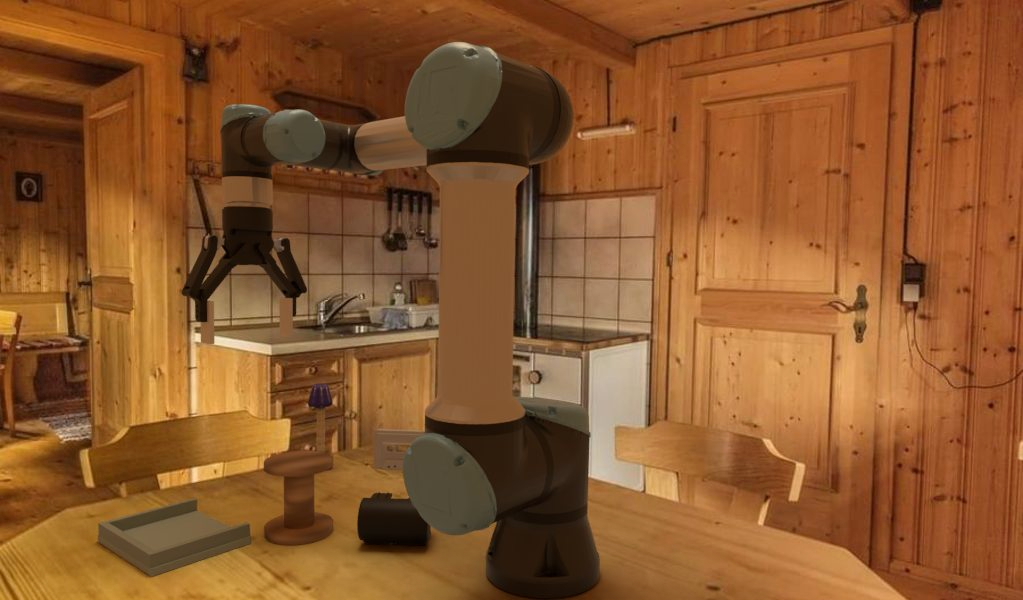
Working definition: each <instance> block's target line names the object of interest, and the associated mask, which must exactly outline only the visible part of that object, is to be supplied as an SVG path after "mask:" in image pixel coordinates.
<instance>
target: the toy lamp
mask: <svg viewBox="0 0 1023 600" xmlns="http://www.w3.org/2000/svg"><path fill="white" fill-rule="evenodd" d="M307 405H308V407H310V408H315V411H316V416H315V420H316V425H315V426H316V433H315V434H316V439H315V443H316V446H315V449H316V450H315V451H320V452H325V453H326V451H325V450H326V444H325V443H326V436H325V435H326V432H327V431H326V421H325V419H326V413H325V412H326V408H327V407H331V406H332V405H333V399H332V395H331V391H330V387H329V385H328V384H327V383H314V384H312V386H311V389H310V393H309V397H308V399H307ZM331 469H332V468H330V469H329V470H331Z"/></svg>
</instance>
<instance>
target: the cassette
mask: <svg viewBox="0 0 1023 600" xmlns="http://www.w3.org/2000/svg"><path fill="white" fill-rule="evenodd" d="M423 434H425V430H419V429H418V430H417V429H416V430H415V429H382V428H376V429H375V430H373V469H383V470H401V471H403V460H404V455H405V452H406V450H407V449H401V450H400V449H398V446H410V445H411V443H412V442H413V441H414V440H415V439H416V438H417V437H420V436H421V435H423ZM390 446H391V447H392V448H393V449H392V448H390Z"/></svg>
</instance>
